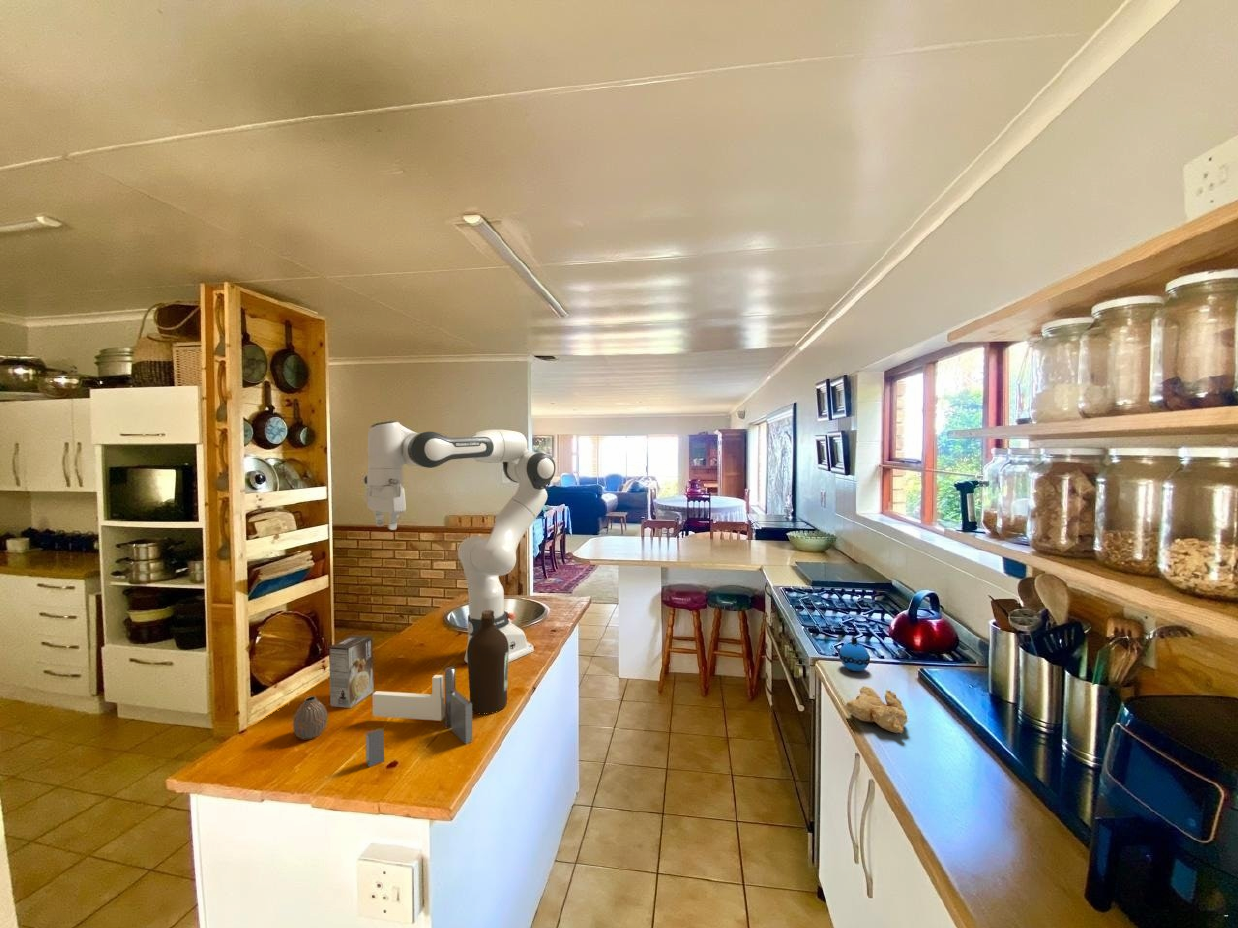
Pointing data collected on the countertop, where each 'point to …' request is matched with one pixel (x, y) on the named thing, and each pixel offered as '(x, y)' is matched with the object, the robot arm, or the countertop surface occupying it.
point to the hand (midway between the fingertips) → (386, 527)
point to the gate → (411, 703)
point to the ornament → (854, 656)
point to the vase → (310, 719)
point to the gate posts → (455, 718)
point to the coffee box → (351, 670)
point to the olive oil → (488, 666)
